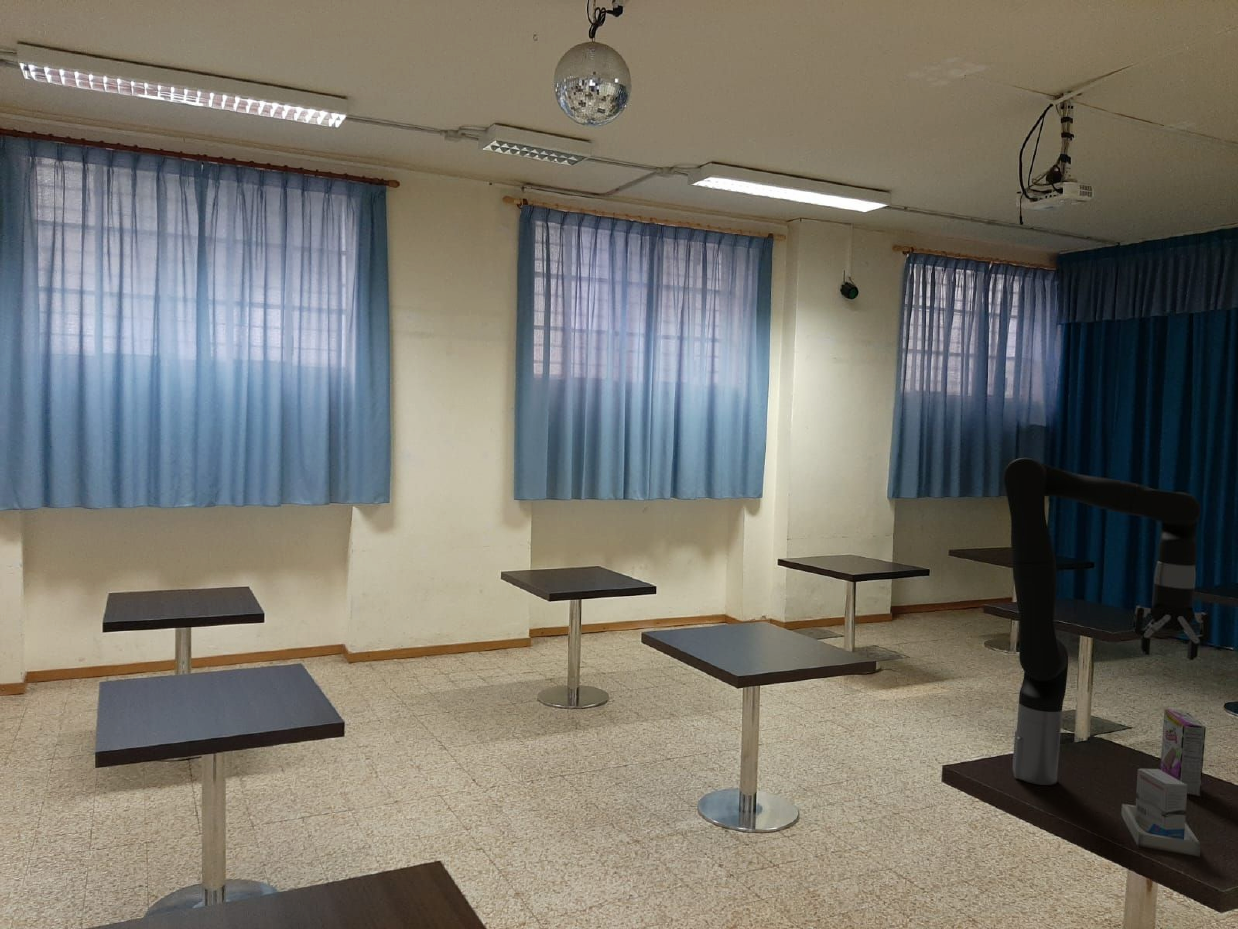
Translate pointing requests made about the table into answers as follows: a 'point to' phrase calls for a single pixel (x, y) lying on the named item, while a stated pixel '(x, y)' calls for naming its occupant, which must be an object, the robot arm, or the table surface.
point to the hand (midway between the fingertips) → (1168, 656)
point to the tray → (1160, 842)
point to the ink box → (1160, 803)
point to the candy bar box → (1183, 749)
